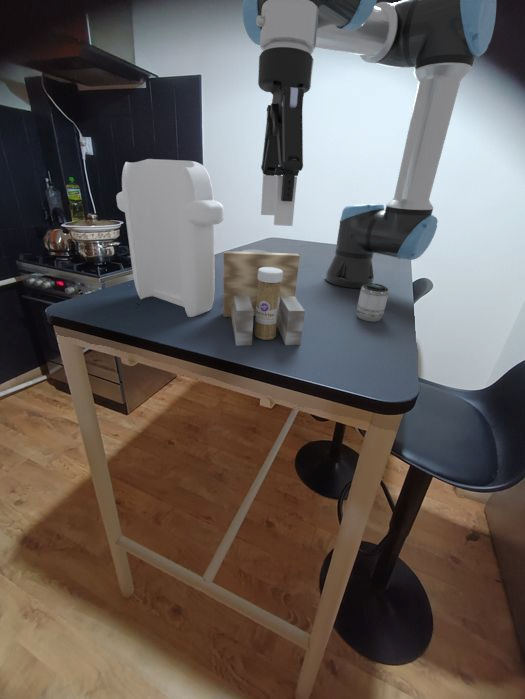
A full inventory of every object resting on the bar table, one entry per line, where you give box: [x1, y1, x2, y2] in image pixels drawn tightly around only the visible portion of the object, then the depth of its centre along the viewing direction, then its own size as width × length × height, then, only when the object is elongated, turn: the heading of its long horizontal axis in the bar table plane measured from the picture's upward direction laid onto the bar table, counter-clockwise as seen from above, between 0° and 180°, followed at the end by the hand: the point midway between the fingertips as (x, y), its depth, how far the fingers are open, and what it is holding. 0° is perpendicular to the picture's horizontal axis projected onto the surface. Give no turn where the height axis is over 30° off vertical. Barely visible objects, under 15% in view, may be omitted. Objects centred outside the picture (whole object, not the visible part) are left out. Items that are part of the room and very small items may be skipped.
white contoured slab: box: [115, 158, 225, 318], centre depth 70 cm, size 27×11×30 cm, turn 56°
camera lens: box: [356, 282, 390, 322], centre depth 75 cm, size 6×6×8 cm
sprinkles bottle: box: [253, 267, 283, 341], centre depth 61 cm, size 5×5×13 cm
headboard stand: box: [222, 250, 306, 347], centre depth 64 cm, size 16×16×14 cm
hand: (274, 219), depth 54 cm, fingers open, 13 cm apart
